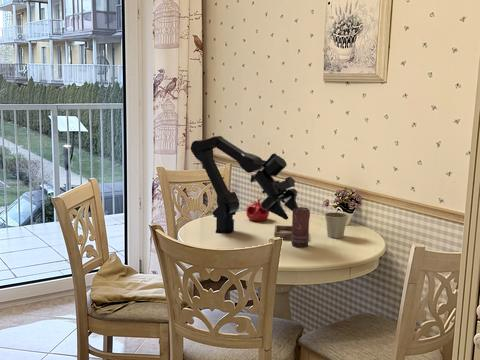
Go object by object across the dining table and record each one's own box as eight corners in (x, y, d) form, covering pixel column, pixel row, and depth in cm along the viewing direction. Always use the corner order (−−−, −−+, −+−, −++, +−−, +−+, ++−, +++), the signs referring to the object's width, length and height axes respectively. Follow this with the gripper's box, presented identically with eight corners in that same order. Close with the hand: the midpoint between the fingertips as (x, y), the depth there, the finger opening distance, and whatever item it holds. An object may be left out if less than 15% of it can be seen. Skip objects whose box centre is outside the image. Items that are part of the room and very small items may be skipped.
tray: (274, 239, 217) (274, 232, 216) (275, 231, 228) (275, 225, 228) (304, 240, 216) (304, 234, 215) (304, 232, 227) (304, 226, 227)
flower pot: (332, 231, 229) (333, 211, 227) (352, 236, 222) (353, 215, 221) (318, 235, 222) (319, 214, 221) (338, 241, 216) (339, 218, 214)
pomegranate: (247, 217, 252) (247, 196, 251) (270, 218, 251) (270, 197, 249) (244, 222, 242) (244, 200, 241) (268, 222, 241) (268, 201, 240)
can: (308, 248, 205) (309, 210, 203) (290, 247, 206) (291, 209, 204) (309, 243, 211) (310, 207, 209) (292, 242, 212) (293, 206, 210)
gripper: (269, 173, 201) (295, 207, 197) (293, 167, 216) (319, 199, 212) (249, 192, 207) (275, 226, 202) (275, 185, 222) (299, 216, 218)
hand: (293, 216), depth 209 cm, fingers open, 9 cm apart
